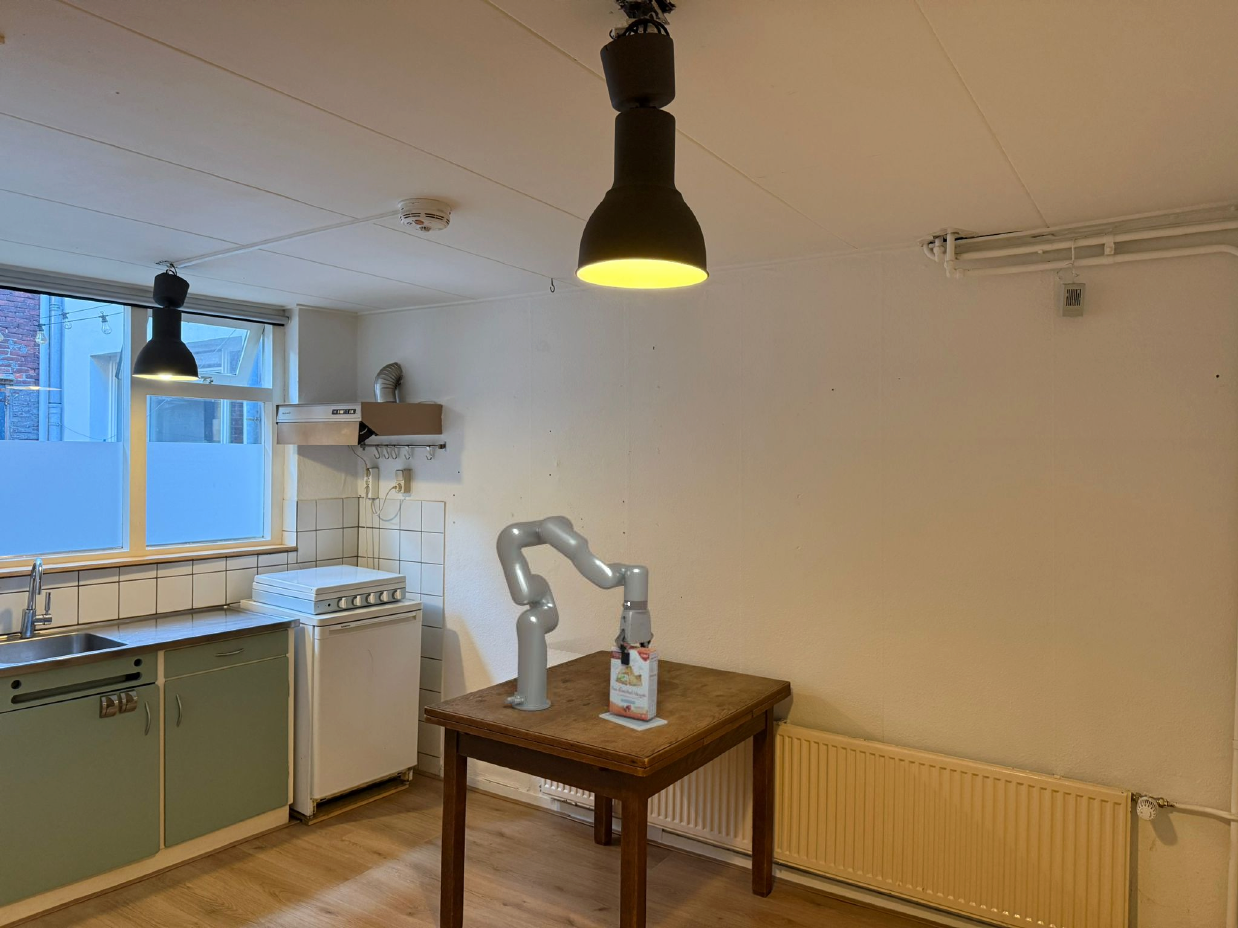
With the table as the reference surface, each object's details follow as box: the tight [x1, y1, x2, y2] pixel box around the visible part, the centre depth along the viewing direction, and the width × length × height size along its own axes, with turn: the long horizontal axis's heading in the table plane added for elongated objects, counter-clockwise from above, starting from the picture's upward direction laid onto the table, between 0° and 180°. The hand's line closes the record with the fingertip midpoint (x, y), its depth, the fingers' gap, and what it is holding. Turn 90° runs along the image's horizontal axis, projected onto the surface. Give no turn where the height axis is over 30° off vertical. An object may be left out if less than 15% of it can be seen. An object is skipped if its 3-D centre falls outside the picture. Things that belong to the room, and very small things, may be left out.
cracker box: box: [609, 644, 659, 720], centre depth 256 cm, size 14×6×21 cm, turn 58°
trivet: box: [599, 711, 668, 732], centre depth 256 cm, size 12×18×1 cm, turn 44°
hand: (633, 662), depth 256 cm, fingers closed on cracker box, 6 cm apart
